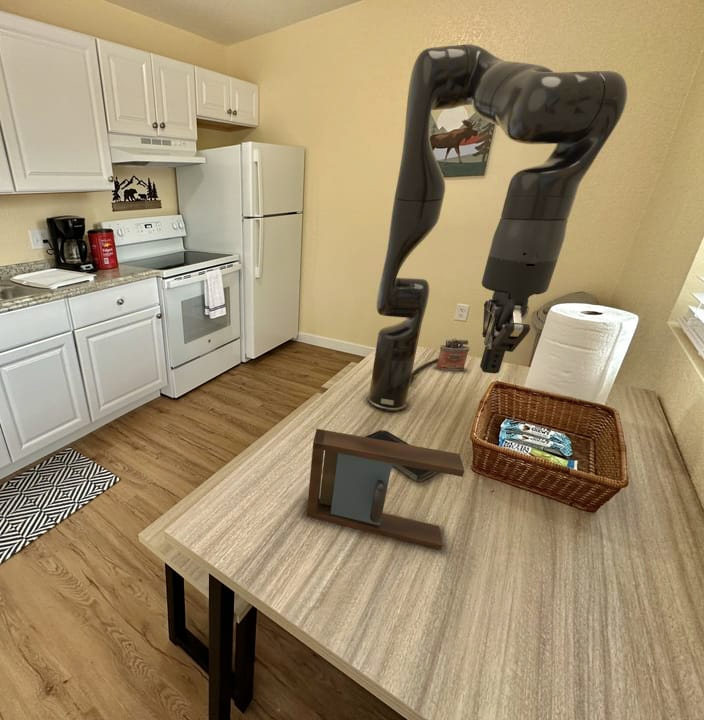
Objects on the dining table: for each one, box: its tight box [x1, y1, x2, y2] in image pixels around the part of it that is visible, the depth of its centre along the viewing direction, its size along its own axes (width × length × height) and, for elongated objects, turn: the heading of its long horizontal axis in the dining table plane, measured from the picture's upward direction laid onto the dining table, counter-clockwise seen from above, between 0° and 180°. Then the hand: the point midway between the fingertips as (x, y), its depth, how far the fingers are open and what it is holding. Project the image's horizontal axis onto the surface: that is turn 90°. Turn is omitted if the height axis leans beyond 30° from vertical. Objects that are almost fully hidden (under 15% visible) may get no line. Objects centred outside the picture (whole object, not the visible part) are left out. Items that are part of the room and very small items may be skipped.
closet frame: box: [306, 428, 466, 551], centre depth 63 cm, size 4×21×16 cm, turn 70°
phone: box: [365, 429, 439, 483], centre depth 82 cm, size 8×1×15 cm
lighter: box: [435, 338, 470, 373], centre depth 118 cm, size 8×3×10 cm, turn 80°
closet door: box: [331, 453, 393, 526], centre depth 61 cm, size 4×8×13 cm, turn 70°
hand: (488, 370), depth 58 cm, fingers closed
